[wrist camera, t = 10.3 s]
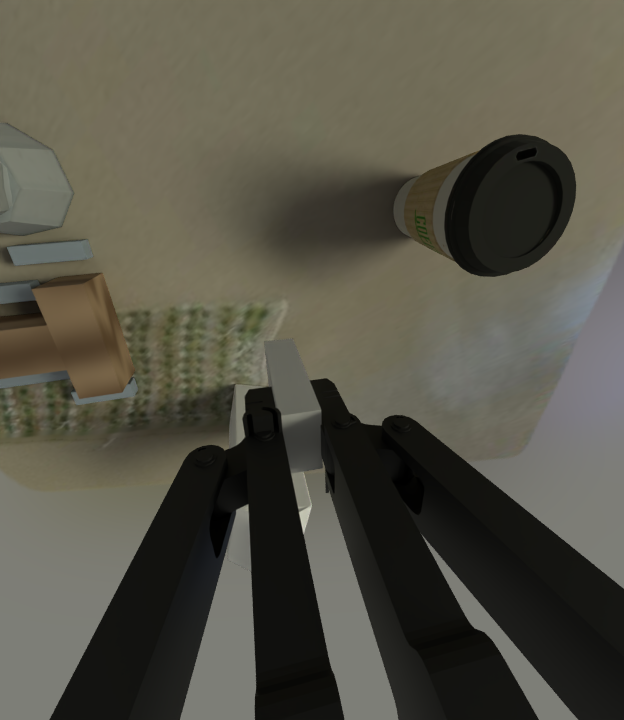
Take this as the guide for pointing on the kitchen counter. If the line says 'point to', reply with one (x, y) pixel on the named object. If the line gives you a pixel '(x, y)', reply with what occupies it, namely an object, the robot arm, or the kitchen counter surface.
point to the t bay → (23, 292)
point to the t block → (69, 337)
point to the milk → (240, 531)
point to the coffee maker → (30, 185)
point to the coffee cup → (491, 205)
